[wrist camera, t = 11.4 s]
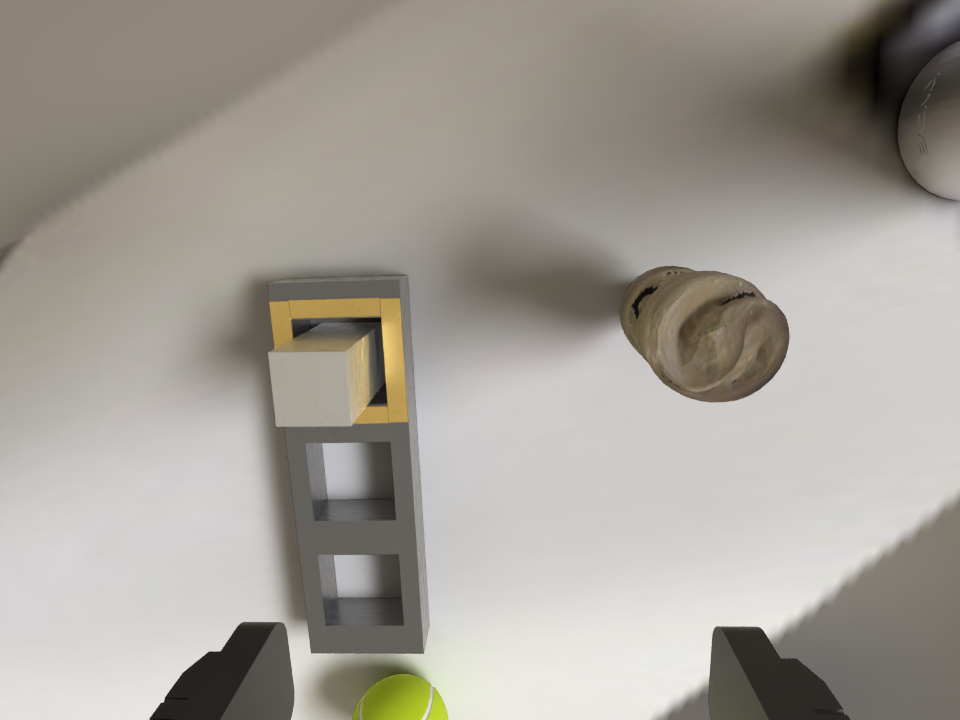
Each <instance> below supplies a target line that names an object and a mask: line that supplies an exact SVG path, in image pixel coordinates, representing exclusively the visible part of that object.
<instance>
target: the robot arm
mask: <svg viewBox="0 0 960 720" xmlns="http://www.w3.org/2000/svg"><path fill="white" fill-rule="evenodd" d="M898 143H899V148H900V153H901V157H902V159H903V161H904V164H905V166H906V168H907V170H908V172H909V173H910V174H911V175H912V177H913V178H914V179H915V180H916V182H917V183H918V184H920V185H921V186H922V187H924V188H925V189H926V190H928V191H929V192H931V193H933V194H936V195H938V196H940V197H943V198H946V199H952V200H958V201H960V40H959V41H957V42H955V43H953V44H951V45H949V46H948V47H947V48H945V49H944V50H942V51H941V52H940V53H938V54H937V55H936V56H934V57H933V58H932V59H931V60H930V61H929V63H928V64H927V65H926V66H925V67H924V68H923V69H922V70H921V71H920V72H919V74H918V75H917V77H916V78H915V80H914V81H913V83H912V84H911V86H910V88H909V90H908V92H907V95H906V97H905V99H904V101H903V104H902V108H901V112H900V116H899V121H898ZM708 704H709V714H710V719H711V720H850V719H849V717H848V716H847V715H845V714H844V712H843V708H842V707H841V705H840V704H839V703H838V701H837V700H836V698H835V697H834V695H833V694H832V692H831V691H830V689H829V688H828V686H827V685H826V683H825V682H824V681H823V680H822V679H820V678H819V677H818V676H817V675H815V674H814V673H813V672H812V671H811V670H809V669H808V668H807V667H806V666H805V665H803V664H802V663H801V662H800V661H799V660H797V659H781V658H780V657H779V655H778V654H777V652H776V650H775V649H774V647H773V645H772V644H771V642H770V641H769V639H768V637H767V636H766V634H765V633H764V631H763V630H762V629H761V628H759V627H715V629H714V631H713V636H712V650H711V664H710V678H709V692H708ZM293 705H294V684H293V676H292V668H291V661H290V653H289V645H288V637H287V631H286V627H285V625H284V624H283V623H281V622H243V623H241V624H240V625H239V626H238V627H237V628H236V630H235V631H234V633H233V634H232V636H231V637H230V638H229V640H228V641H227V643H226V644H225V646H224V647H223V649H222V650H221V652H208V653H207V654H206V655H204V656H203V657H202V658H201V659H199V660H198V661H197V662H196V663H195V664H193V665H192V666H191V667H190V668H188V669H187V670H186V671H185V672H183V674H182V675H181V676H180V678H179V679H178V680H177V682H176V683H175V684H174V686H173V687H172V689H171V690H170V691H169V693H168V694H167V695H166V697H165V701H164V703H161V704H160V705H159V706H158V708H157V709H156V711H155V712H154V713H153V715H152V716H151V717H150V720H291V716H292V712H293Z"/></svg>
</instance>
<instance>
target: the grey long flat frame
mask: <svg viewBox="0 0 960 720" xmlns="http://www.w3.org/2000/svg"><path fill="white" fill-rule="evenodd" d="M267 285H268V293H269V305H270V314H271V322H272V331H273V339H274V348H277V347H279V346H281V345H283V344H285V343H286V342H288V341H290V340H292V339H294V338H296V337H297V336H299V335H301V334H303V333H305V332H307V331H308V330H310V324H309V319H342V318H379V317H381V322H382V336H383V349H384V363H385V376H386V390H387V391H378V392H377V393H376V394H375V396H374V397H373V398H372V400H371V401H370V402H369V404H368V405H367V406H366V408H365V409H364V410H363V411H362V413H361V414H360V415H359V417H358V418H357V419H356V421H355V422H354V423H353V425H352V426H324V427H284V428H285V437H286V445H287V454H288V462H289V471H290V479H291V487H292V496H293V504H294V513H295V521H296V530H297V538H298V547H299V555H300V563H301V572H302V580H303V589H304V597H305V606H306V614H307V622H308V631H309V639H310V648H311V653H394V654H424V650H425V645H426V640H427V634H428V629H429V610H428V594H427V578H426V562H425V546H424V530H423V513H422V497H421V481H420V465H419V449H418V433H417V417H416V401H415V385H414V369H413V353H412V337H411V321H410V305H409V289H408V275H392V276H359V277H326V278H293V279H283V280H279V281H275V282H271V283H267ZM352 442H390V443H391V457H392V470H393V484H394V497H395V499H369V500H328V498H327V488H326V479H325V469H324V459H323V450H322V443H352ZM380 554H399V565H400V578H401V592H402V598H338V595H337V585H336V575H335V566H334V556H333V555H380Z"/></svg>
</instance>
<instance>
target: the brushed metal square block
mask: <svg viewBox="0 0 960 720" xmlns="http://www.w3.org/2000/svg"><path fill="white" fill-rule="evenodd" d="M268 357H269V366H270V376H271V385H272V394H273V403H274V413H275V422H276V427H324V426H352V425H353V423H354V422H355V421H356V419H357V418H358V417H359V415H360V414H361V413H362V411H363V410H364V409H365V408H366V406H367V405H368V404H369V402H370V401H371V400H372V398H373V397H374V396H375V394H376V393H377V392H378V390H379V389H380V388H381V386H382V385H383V384H384V382H385V381H386V376H385V363H384V349H383V336H382V322H347V323H321V324H319V325H318V326H316V327H314V328H312V329H310V330H308V331H307V332H305V333H303V334H301V335H299V336H297V337H296V338H294V339H292V340H290V341H288V342H286V343H285V344H283V345H281V346H279V347H277V348H275V349H274V350H272V351H270V352H268Z"/></svg>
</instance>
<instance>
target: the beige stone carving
mask: <svg viewBox="0 0 960 720" xmlns="http://www.w3.org/2000/svg"><path fill="white" fill-rule="evenodd" d="M619 313H620V321H621V325H622V328H623V331H624V333H625V335H626V337H627V339H628V340H629V342H630V343H631V344H632V346H633V347H634V348H635V349H636V350H637V351H638V352H639V353H640V354H641V355H642V356H643V358H644V359H645V360H646V361H647V362H648V363H649V365H650V366H651V368H652V370H653V371H654V373H655V374H656V375H657V376H658V377H659V379H660V380H661V381H662V382H663V383H664V384H665V385H667V386H668V387H670V388H671V389H673V390H674V391H676V392H678V393H680V394H682V395H683V396H686V397H689V398H691V399H695V400H699V401H705V402H728V401H735V400H739V399H741V398H744V397H747V396H749V395H751V394H753V393H754V392H756V391H758V390H759V389H761V388H762V387H763V386H764V385H765V384H767V383H768V382H769V381H770V380H771V379H772V378H773V377H774V376H775V374H776V373H777V372H778V370H779V369H780V367H781V365H782V363H783V361H784V359H785V357H786V353H787V350H788V344H789V327H788V323H787V319H786V317H785V315H784V314H783V312H782V311H781V310H780V309H779V307H778V306H777V305H776V304H774V303H773V302H771V301H769V300H766V298H765V297H764V295H763V294H762V293H761V292H760V291H759V290H758V289H757V287H756V286H755V285H753V284H752V283H750V282H748V281H746V280H744V279H742V278H739V277H736V276H732V275H729V274H725V273H721V272H717V271H694V270H691V269H689V268H684V267H676V266H664V267H658V268H655V269H652V270H649V271H647V272H645V273H643V274H642V275H640V276H638V277H637V278H636V279H635V280H634V281H633V282H632V283H631V284H630V285H629V287H628V288H627V290H626V292H625V294H624V296H623V299H622V301H621V306H620V311H619Z"/></svg>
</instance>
